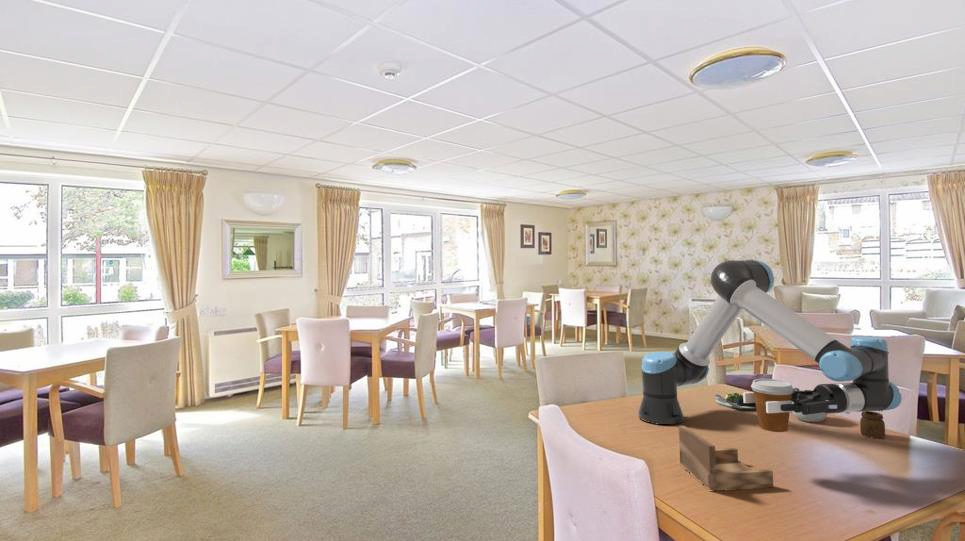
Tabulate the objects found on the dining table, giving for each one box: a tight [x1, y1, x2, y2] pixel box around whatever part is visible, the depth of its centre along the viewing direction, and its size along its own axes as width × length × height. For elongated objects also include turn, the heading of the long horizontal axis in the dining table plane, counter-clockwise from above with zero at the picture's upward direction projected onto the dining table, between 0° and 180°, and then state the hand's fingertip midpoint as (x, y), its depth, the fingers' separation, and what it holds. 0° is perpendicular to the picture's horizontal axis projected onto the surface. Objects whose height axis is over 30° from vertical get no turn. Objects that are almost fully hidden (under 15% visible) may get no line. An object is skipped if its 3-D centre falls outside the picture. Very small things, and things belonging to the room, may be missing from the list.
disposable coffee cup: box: [750, 378, 794, 433], centre depth 121 cm, size 10×10×12 cm
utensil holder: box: [859, 411, 886, 439], centre depth 145 cm, size 6×6×12 cm
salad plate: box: [714, 392, 757, 412], centre depth 182 cm, size 19×18×5 cm
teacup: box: [791, 398, 828, 423], centre depth 163 cm, size 14×11×8 cm
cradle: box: [678, 425, 774, 491], centre depth 120 cm, size 16×15×11 cm
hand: (755, 402), depth 121 cm, fingers closed on disposable coffee cup, 8 cm apart
